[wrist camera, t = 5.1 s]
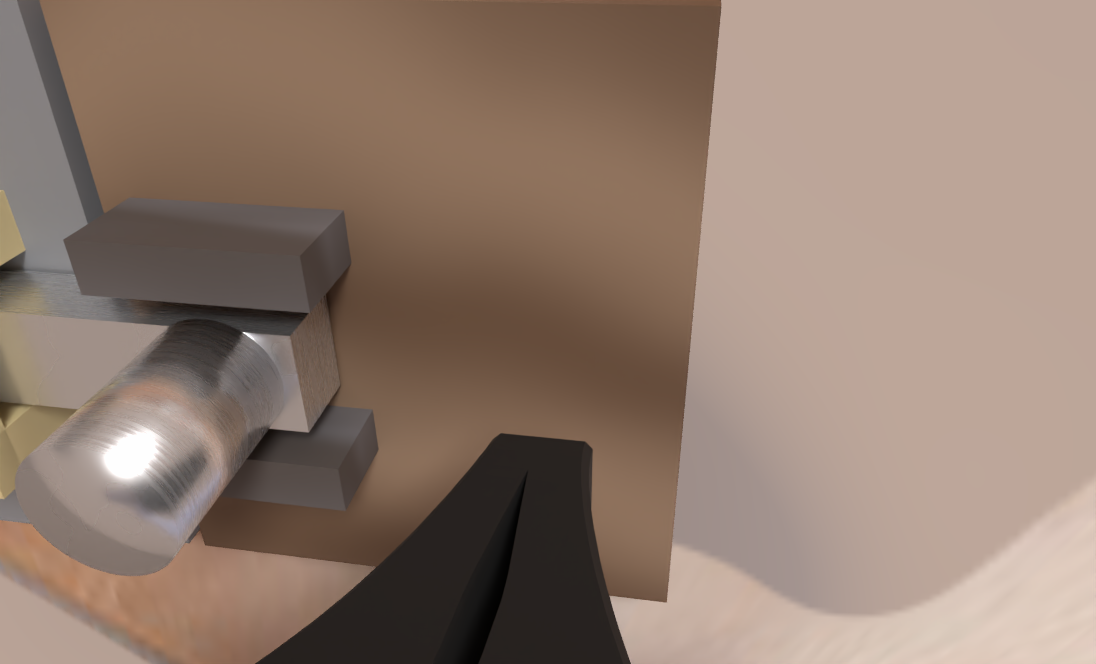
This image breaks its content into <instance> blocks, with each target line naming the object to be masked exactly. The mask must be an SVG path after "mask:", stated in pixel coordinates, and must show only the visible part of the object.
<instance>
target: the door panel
mask: <svg viewBox="0 0 1096 664" xmlns="http://www.w3.org/2000/svg"><path fill="white" fill-rule="evenodd" d="M39 1H40V5H41V8H42V11H43V15H44V18H45V21H46V24H47V28H48V31H49V34H50V38H51V41H52V44H53V47H54V51H55V54H56V57H57V60H58V64H59V67H60V70H61V74H62V77H63V80H64V83H65V87H66V90H67V93H68V97H69V100H70V103H71V106H72V110H73V113H74V116H75V120H76V123H77V126H78V129H79V133H80V136H81V139H82V143H83V146H84V149H85V152H86V156H87V159H88V162H89V165H90V169H91V172H92V175H93V179H94V182H95V185H96V188H97V192H98V195H99V198H100V202H101V205H102V208H103V211H104V214H103V215H101V216H100V217H98V218H97V219H95V220H93V221H92V222H90V223H89V224H87V225H86V226H84V227H82V228H81V229H79V230H78V231H76V232H75V233H73V234H71V235H70V236H68V237H67V238H65V239H64V240H63V242H64V244H65V247H66V250H67V253H68V256H69V259H70V262H71V265H72V268H73V271H74V274H75V277H76V280H77V283H78V286H79V289H80V292H81V295H86V296H99V297H112V298H125V299H137V300H150V301H163V302H176V303H188V304H201V305H214V306H227V307H239V308H252V309H265V310H278V311H290V312H303V313H311V311H312V310H313V309H314V308H315V306H316V305H317V304H318V303H319V302H320V300H321V299H322V298H323V297H324V296H325V295H326V301H327V307H328V313H329V319H330V325H331V331H332V337H333V343H334V349H335V355H336V361H337V367H338V373H339V379H340V384H341V385H340V386H339V388H338V389H337V391H336V392H335V394H334V396H333V397H332V399H331V400H330V402H329V403H328V405H327V406H326V408H325V409H324V411H323V412H322V414H321V415H320V417H319V418H318V420H317V421H316V423H315V424H314V426H313V427H312V429H311V430H310V432H309V433H308V432H298V431H288V430H278V429H268V431H267V432H266V433H265V435H264V436H263V437H262V439H261V440H260V441H259V443H258V444H257V446H256V447H255V448H254V450H253V451H252V452H251V454H250V455H249V456H248V458H247V459H246V461H245V462H244V463H243V465H242V466H241V467H240V469H239V470H238V471H237V473H236V474H235V475H234V477H233V478H232V480H231V481H230V482H229V484H228V485H227V486H226V488H225V489H224V490H223V492H222V493H221V494H220V496H219V497H218V499H217V500H216V501H215V503H214V504H213V505H212V507H211V508H210V509H209V511H208V512H207V514H206V515H205V516H204V518H203V519H202V520H201V522H200V523H199V526H200V530H201V533H202V536H203V539H204V543H205V545H207V546H215V547H223V548H231V549H239V550H247V551H255V552H263V553H271V554H279V555H288V556H296V557H304V558H312V559H320V560H328V561H336V562H344V563H352V564H360V565H368V566H376V567H377V566H378V565H379V564H380V563H382V562H383V561H384V560H385V559H386V558H387V557H388V556H389V555H390V554H391V553H392V552H393V551H394V550H395V549H396V548H397V547H398V546H399V545H400V544H401V543H402V542H403V541H404V540H405V539H406V538H407V537H408V536H409V535H410V534H411V533H412V532H413V531H414V530H415V529H416V528H417V527H418V526H419V525H420V524H421V523H422V522H423V521H424V520H425V518H426V517H427V516H428V515H429V514H430V513H431V512H432V511H433V510H434V509H435V508H436V507H437V505H438V504H439V503H440V502H441V501H442V500H443V499H444V498H445V497H446V496H447V495H448V493H449V492H450V491H451V490H452V489H453V488H454V486H455V485H456V484H457V483H458V482H459V481H460V479H461V478H462V477H463V476H464V475H465V474H466V472H467V471H468V470H469V469H470V468H471V466H472V465H473V464H474V463H475V461H476V460H477V459H478V458H479V456H480V455H481V454H482V453H483V451H484V450H485V449H486V448H487V446H488V445H489V444H490V442H491V441H492V440H493V439H494V438H495V437H496V436H498V435H499V434H500V433H505V434H515V435H525V436H535V437H546V438H556V439H566V440H576V441H585V442H586V443H587V444H588V445H589V446H590V447H591V448H592V449H593V461H592V504H591V511H592V518H593V525H594V530H595V536H596V541H597V546H598V552H599V557H600V561H601V566H602V570H603V574H604V578H605V582H606V586H607V590H608V593H609V595H610V596H618V597H626V598H634V599H642V600H650V601H659V602H667V593H668V582H669V571H670V560H671V549H672V538H673V527H674V516H675V504H676V494H677V482H678V473H679V461H680V451H681V439H682V429H683V418H684V407H685V396H686V385H687V373H688V363H689V352H690V341H691V330H692V319H693V309H694V298H695V286H696V276H697V266H698V254H699V244H700V233H701V221H702V211H703V200H704V189H705V178H706V167H707V156H708V145H709V135H710V123H711V113H712V101H713V91H714V79H715V69H716V58H717V47H718V36H719V25H720V15H721V0H39Z"/></svg>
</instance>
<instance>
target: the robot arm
mask: <svg viewBox="0 0 1096 664" xmlns="http://www.w3.org/2000/svg"><path fill="white" fill-rule="evenodd" d="M592 461H593V449H592V448H591V447H590V446H589V445H588V444H587V443H586V442H585V441H576V440H566V439H556V438H546V437H535V436H525V435H515V434H505V433H500V434H499V435H498V436H496V437H495V438H494V439H493V440H492V441H491V442H490V444H489V445H488V446H487V448H486V449H485V450H484V451H483V453H482V454H481V455H480V456H479V458H478V459H477V460H476V461H475V463H474V464H473V465H472V466H471V468H470V469H469V470H468V471H467V472H466V474H465V475H464V476H463V477H462V478H461V479H460V481H459V482H458V483H457V484H456V485H455V486H454V488H453V489H452V490H451V491H450V492H449V493H448V495H447V496H446V497H445V498H444V499H443V500H442V501H441V502H440V503H439V504H438V505H437V507H436V508H435V509H434V510H433V511H432V512H431V513H430V514H429V515H428V516H427V517H426V518H425V520H424V521H423V522H422V523H421V524H420V525H419V526H418V527H417V528H416V529H415V530H414V531H413V532H412V533H411V534H410V535H409V536H408V537H407V538H406V539H405V540H404V541H403V542H402V543H401V544H400V545H399V546H398V547H397V548H396V549H395V550H394V551H393V552H392V553H391V554H390V555H389V556H388V557H387V558H386V559H385V560H384V561H383V562H382V563H380V564H379V565H378V566H377V567H376V568H375V569H374V570H373V571H372V572H371V573H370V574H369V575H368V576H367V577H365V578H364V579H363V580H362V581H361V582H360V583H359V584H358V585H356V586H355V587H354V588H353V589H352V590H351V591H350V592H348V593H347V594H346V595H345V596H344V597H343V598H341V599H340V600H339V601H338V602H337V603H335V604H334V605H333V606H332V607H330V608H329V609H328V610H327V611H326V612H324V613H323V614H322V615H321V616H319V617H318V618H317V619H316V620H314V621H313V622H312V623H310V624H309V625H308V626H306V627H305V628H304V629H302V630H301V631H300V632H298V633H297V634H296V635H294V636H293V637H292V638H290V639H289V640H288V641H286V642H285V643H284V644H282V645H281V646H280V647H278V648H277V649H275V650H274V651H273V652H271V653H270V654H269V655H267V656H266V657H264V658H263V659H261V660H260V661H258V662H257V663H256V664H631V663H630V660H629V657H628V654H627V651H626V649H625V646H624V643H623V640H622V637H621V634H620V631H619V628H618V625H617V621H616V618H615V615H614V611H613V608H612V604H611V601H610V597H609V593H608V590H607V586H606V582H605V578H604V574H603V570H602V566H601V561H600V557H599V552H598V546H597V541H596V536H595V530H594V525H593V518H592V511H591V504H592Z"/></svg>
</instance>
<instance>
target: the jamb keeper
mask: <svg viewBox="0 0 1096 664" xmlns="http://www.w3.org/2000/svg"><path fill="white" fill-rule="evenodd" d="M103 214H104V211H103V208H102V205H101V202H100V198H99V195H98V192H97V188H96V185H95V182H94V179H93V175H92V172H91V169H90V165H89V162H88V159H87V156H86V152H85V149H84V146H83V143H82V139H81V136H80V133H79V129H78V126H77V123H76V120H75V116H74V113H73V110H72V106H71V103H70V100H69V97H68V93H67V90H66V87H65V83H64V80H63V77H62V74H61V70H60V67H59V64H58V60H57V57H56V54H55V51H54V47H53V44H52V41H51V38H50V34H49V31H48V28H47V24H46V21H45V18H44V15H43V11H42V8H41V5H40V1H39V0H0V269H5V270H18V271H32V272H45V273H58V274H72V275H75V274H74V271H73V268H72V265H71V262H70V259H69V256H68V253H67V250H66V247H65V244H64V242H63V240H64V239H65V238H67V237H68V236H70V235H71V234H73V233H75V232H76V231H78V230H79V229H81V228H82V227H84V226H86V225H87V224H89V223H90V222H92V221H93V220H95V219H97V218H98V217H100V216H101V215H103ZM77 410H78V409H70V408H60V407H50V406H40V405H30V404H20V403H10V402H0V520H5V521H13V522H21V523H29V524H31V522H30V521H29V520H28V518H27V517H26V515H25V514H24V512H23V510H22V508H21V506H20V504H19V501H18V498H17V495H16V490H15V477H16V472H17V469H18V467H19V465H20V464H21V462H22V461H23V460H24V459H25V458H26V457H27V456H28V455H29V454H30V453H31V452H32V451H34V450H35V449H36V448H37V447H38V446H39V445H40V444H41V443H42V442H43V441H44V440H45V439H47V438H48V437H49V436H50V435H51V434H52V433H53V432H54V431H55V430H56V429H57V428H59V427H60V426H61V425H62V424H63V423H64V422H65V421H66V420H67V419H68V418H69V417H70V416H72V415H73V414H74V413H75V412H76V411H77ZM199 529H200V526H199V524H198V526H197V527H196V528H195V530H194V531H193V533H192V534H191V535H190V537H189V538H188V539H187V541H186V542H185V543H190V542H191V540H192V539H193V538H194V536H195V535H196V533H197V532H198V531H199Z"/></svg>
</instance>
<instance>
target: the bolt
mask: <svg viewBox="0 0 1096 664" xmlns="http://www.w3.org/2000/svg"><path fill="white" fill-rule="evenodd" d="M340 385H341V384H340V379H339V373H338V367H337V361H336V355H335V349H334V343H333V337H332V331H331V325H330V319H329V313H328V307H327V301H326V295H325V296H324V297H323V298H322V299H321V300H320V302H319V303H318V304H317V305H316V306H315V308H314V309H313V310H312V311H311V313H303V312H290V311H278V310H265V309H252V308H239V307H227V306H214V305H201V304H188V303H176V302H163V301H150V300H137V299H125V298H112V297H99V296H86V295H81V292H80V289H79V286H78V283H77V280H76V277H75V275H72V274H58V273H45V272H32V271H18V270H5V269H0V402H10V403H20V404H30V405H40V406H50V407H60V408H70V409H78V410H77V411H76V412H75V413H74V414H73V415H72V416H70V417H69V418H68V419H67V420H66V421H65V422H64V423H63V424H62V425H61V426H60V427H59V428H57V429H56V430H55V431H54V432H53V433H52V434H51V435H50V436H49V437H48V438H47V439H45V440H44V441H43V442H42V443H41V444H40V445H39V446H38V447H37V448H36V449H35V450H34V451H32V452H31V453H30V454H29V455H28V456H27V457H26V458H25V459H24V460H23V461H22V462H21V464H20V465H19V467H18V469H17V472H16V477H15V490H16V495H17V498H18V501H19V504H20V506H21V508H22V510H23V512H24V514H25V515H26V517H27V518H28V520H29V521H30V522H31V524H32V525H33V526H34V527H35V529H36V530H37V531H38V532H39V533H40V534H41V535H42V536H43V537H44V538H45V539H46V540H47V541H49V542H50V543H51V544H52V545H53V546H55V547H56V548H57V549H59V550H60V551H61V552H63V553H64V554H66V555H68V556H69V557H71V558H73V559H74V560H76V561H78V562H80V563H82V564H84V565H87V566H89V567H91V568H94V569H97V570H100V571H103V572H107V573H111V574H116V575H124V576H141V575H148V574H151V573H155V572H157V571H159V570H161V569H163V568H164V567H166V566H167V565H168V564H169V563H170V562H171V561H172V560H173V558H174V557H175V556H176V554H177V553H178V552H179V550H180V549H181V548H182V546H183V545H184V543H185V542H186V541H187V539H188V538H189V537H190V535H191V534H192V533H193V531H194V530H195V528H196V527H197V526H198V524H199V523H200V522H201V520H202V519H203V518H204V516H205V515H206V514H207V512H208V511H209V509H210V508H211V507H212V505H213V504H214V503H215V501H216V500H217V499H218V497H219V496H220V494H221V493H222V492H223V490H224V489H225V488H226V486H227V485H228V484H229V482H230V481H231V480H232V478H233V477H234V475H235V474H236V473H237V471H238V470H239V469H240V467H241V466H242V465H243V463H244V462H245V461H246V459H247V458H248V456H249V455H250V454H251V452H252V451H253V450H254V448H255V447H256V446H257V444H258V443H259V441H260V440H261V439H262V437H263V436H264V435H265V433H266V432H267V431H268V429H278V430H288V431H298V432H308V433H309V432H310V430H311V429H312V427H313V426H314V424H315V423H316V421H317V420H318V418H319V417H320V415H321V414H322V412H323V411H324V409H325V408H326V406H327V405H328V403H329V402H330V400H331V399H332V397H333V396H334V394H335V392H336V391H337V389H338V388H339V386H340Z"/></svg>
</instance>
